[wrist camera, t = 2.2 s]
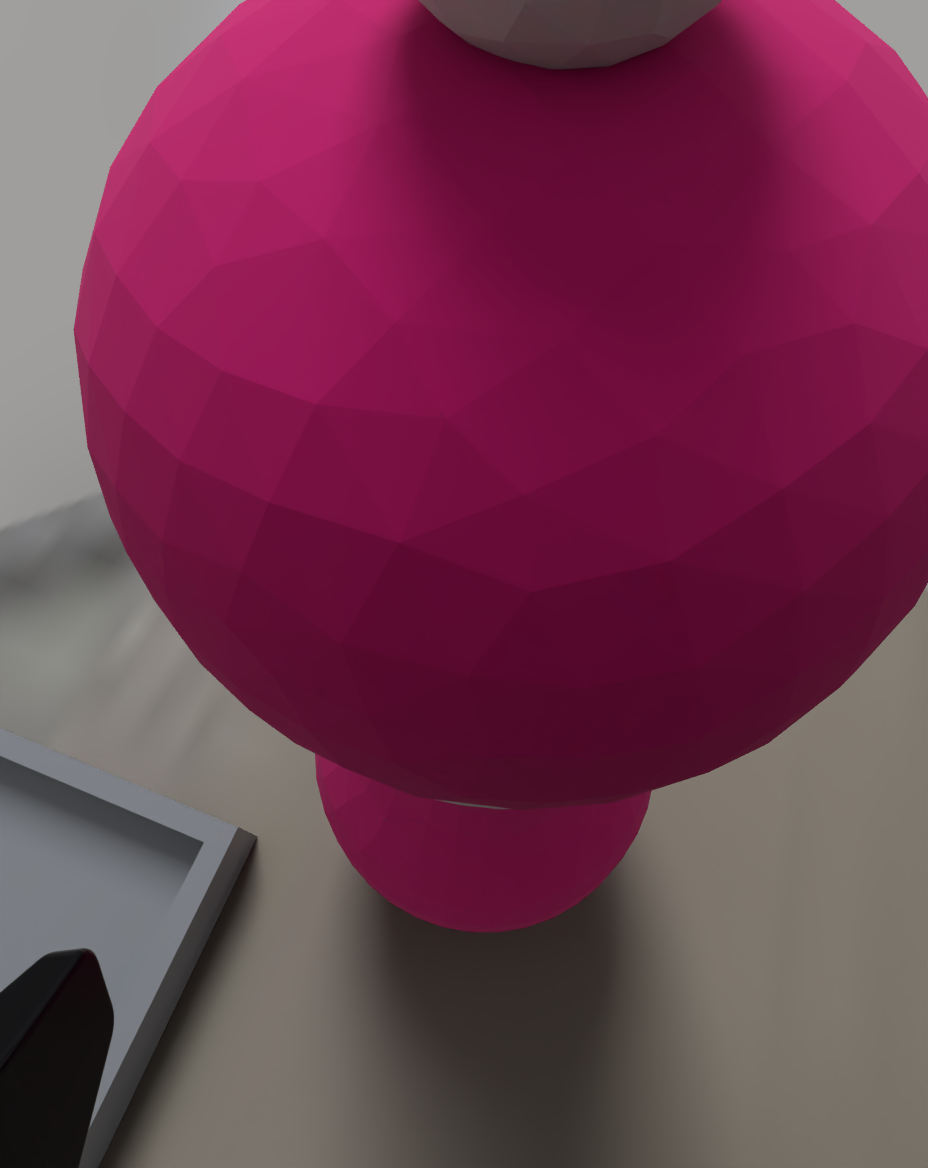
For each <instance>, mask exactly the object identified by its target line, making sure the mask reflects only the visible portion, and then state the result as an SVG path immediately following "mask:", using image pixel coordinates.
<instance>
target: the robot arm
mask: <svg viewBox="0 0 928 1168" xmlns="http://www.w3.org/2000/svg"><path fill="white" fill-rule="evenodd" d="M113 1028H114V1010H113V1005H112V1002H111V999H110V996H109V993H108V989H107V986H106V983H105V980H104V977H103V974H102V971H101V968H100V965H99V961H98V959H97V957H96V954H95V953H94V952H93V951H92V950H90V949H86V948H80V949H72V950H63V951H55V952H51V953H48V954H46V955H44V956H43V957H41V958H40V959H39V960H37V961H36V962H35V963H34V964H33V965H31V966H30V967H29V968H28V969H27V970H26V971H24V972H23V973H22V974H21V975H20V976H19V977H17V978H16V979H15V980H14V981H13V982H12V983H10V984H9V985H8V986H7V987H6V988H5V989H3V990H2V991H1V992H0V1168H79V1166H80V1162H81V1158H82V1154H83V1150H84V1146H85V1142H86V1138H87V1135H88V1131H89V1127H90V1123H91V1119H92V1115H93V1111H94V1107H95V1103H96V1099H97V1095H98V1091H99V1087H100V1083H101V1079H102V1075H103V1071H104V1067H105V1063H106V1059H107V1055H108V1051H109V1047H110V1043H111V1039H112V1035H113Z"/></svg>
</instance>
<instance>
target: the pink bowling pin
mask: <svg viewBox="0 0 928 1168" xmlns="http://www.w3.org/2000/svg"><path fill="white" fill-rule="evenodd" d="M74 336H75V344H76V353H77V361H78V370H79V378H80V386H81V394H82V403H83V412H84V421H85V428H86V437H87V446H88V450H89V453H90V456H91V459H92V462H93V465H94V468H95V471H96V474H97V477H98V480H99V484H100V487H101V490H102V493H103V496H104V499H105V502H106V505H107V508H108V511H109V514H110V517H111V519H112V522H113V524H114V526H115V528H116V530H117V532H118V535H119V537H120V539H121V541H122V543H123V546H124V548H125V550H126V552H127V554H128V556H129V557H130V559H131V561H132V563H133V564H134V566H135V568H136V569H137V571H138V573H139V575H140V576H141V578H142V580H143V581H144V583H145V585H146V587H147V588H148V590H149V592H150V593H151V595H152V597H153V599H154V600H155V602H156V603H157V604H158V606H159V607H160V609H161V610H162V611H163V613H164V614H165V616H166V617H167V618H168V620H169V621H170V622H171V624H172V625H173V627H174V628H175V629H176V631H177V632H178V634H179V635H180V636H181V638H182V639H183V640H184V642H185V643H186V644H187V646H188V647H189V649H190V650H191V651H192V653H193V654H194V655H195V657H196V658H197V659H198V661H199V662H200V663H201V664H202V665H203V666H204V667H205V668H206V669H207V670H208V671H209V672H210V673H211V674H212V675H213V676H214V677H215V678H216V679H217V680H218V681H219V682H220V683H221V684H223V685H224V686H225V687H226V688H227V689H228V690H229V691H230V692H231V693H232V694H233V695H234V696H235V697H236V698H237V699H238V700H239V701H240V702H241V703H242V704H243V705H245V706H246V707H247V708H248V709H249V710H250V711H251V712H253V713H254V714H256V715H257V716H258V717H260V718H261V719H262V720H264V721H265V722H267V723H268V724H269V725H271V726H272V727H274V728H275V729H276V730H278V731H279V732H280V733H282V734H283V735H285V736H286V737H287V738H289V739H290V740H291V741H293V742H294V743H296V744H298V745H300V746H302V747H304V748H306V749H308V750H310V751H312V752H314V753H315V759H316V778H317V783H318V787H319V791H320V795H321V799H322V803H323V807H324V811H325V814H326V816H327V819H328V821H329V823H330V825H331V827H332V830H333V832H334V834H335V836H336V839H337V841H338V843H339V844H340V846H341V847H342V849H343V851H344V852H345V854H346V856H347V857H348V859H349V861H350V862H351V864H352V865H353V866H354V868H355V869H356V870H357V871H358V872H359V873H360V874H361V876H362V877H363V878H364V879H365V880H366V881H367V883H368V884H369V885H370V886H371V887H372V888H374V889H375V890H376V891H377V892H378V893H380V894H381V895H382V896H383V897H385V898H386V899H387V900H388V901H389V902H391V903H392V904H394V905H395V906H397V907H399V908H401V909H402V910H404V911H406V912H408V913H409V914H411V915H413V916H415V917H416V918H419V919H422V920H425V921H427V922H430V923H433V924H436V925H438V926H441V927H445V928H450V929H456V930H462V931H468V932H503V931H509V930H515V929H521V928H526V927H529V926H532V925H535V924H538V923H541V922H543V921H546V920H549V919H552V918H554V917H555V916H557V915H559V914H561V913H563V912H564V911H566V910H568V909H570V908H571V907H573V906H575V905H577V904H578V903H579V902H580V901H582V900H583V899H584V898H585V897H586V896H588V895H589V894H590V893H591V892H592V891H594V890H595V889H596V888H597V887H598V886H599V885H600V884H601V883H602V882H603V881H604V880H605V878H606V877H607V876H608V875H609V874H610V872H611V871H612V870H613V869H614V868H615V867H616V865H617V864H618V863H619V862H620V861H621V859H622V858H623V856H624V855H625V853H626V852H627V850H628V848H629V847H630V845H631V843H632V842H633V840H634V839H635V837H636V835H637V834H638V831H639V829H640V826H641V824H642V821H643V819H644V816H645V814H646V811H647V809H648V804H649V799H650V794H651V790H654V789H658V788H661V787H664V786H667V785H670V784H673V783H676V782H680V781H683V780H686V779H689V778H692V777H695V776H698V775H702V774H705V773H708V772H710V771H712V770H714V769H716V768H718V767H720V766H722V765H725V764H727V763H729V762H731V761H733V760H735V759H737V758H739V757H741V756H743V755H745V754H747V753H749V752H751V751H753V750H755V749H758V748H760V747H762V746H764V745H766V744H768V743H769V742H770V741H772V740H773V739H774V738H776V737H777V736H778V735H779V734H781V733H782V732H783V731H785V730H786V729H787V728H788V727H790V726H791V725H792V724H794V723H795V722H796V721H797V720H799V719H800V718H801V717H802V716H804V715H805V714H806V713H808V712H809V711H810V710H811V709H813V708H814V707H815V706H817V705H818V704H819V703H820V702H822V701H823V700H824V699H826V698H827V697H828V696H829V695H831V694H832V693H833V692H835V691H836V690H837V689H838V688H840V687H841V686H842V685H843V684H844V683H845V682H846V681H847V680H848V679H849V678H850V676H851V675H852V674H853V673H854V672H855V671H856V670H857V669H858V668H859V667H860V666H861V665H862V664H863V663H864V661H865V660H866V659H867V658H868V657H869V656H870V655H871V654H872V653H873V652H874V650H875V649H876V648H877V647H878V646H879V645H880V644H881V643H882V642H883V640H884V639H885V638H886V637H887V636H888V635H889V634H890V633H891V632H892V631H893V629H894V628H895V627H896V626H897V625H898V624H899V623H900V622H901V621H902V619H903V618H904V617H905V616H906V615H907V614H908V613H909V612H910V611H911V610H912V608H913V607H914V606H915V605H916V603H917V601H918V599H919V598H920V596H921V594H922V592H923V590H924V589H925V587H926V585H927V583H928V98H927V96H926V95H925V93H924V91H923V90H922V88H921V87H920V85H919V84H918V83H917V81H916V80H915V78H914V77H913V76H912V74H911V73H910V71H909V70H908V68H907V67H906V66H905V64H904V63H903V61H902V60H901V58H900V57H899V56H898V54H897V53H896V52H895V51H894V50H893V49H892V48H891V47H890V46H889V45H887V44H886V43H885V42H884V41H883V40H881V39H880V38H879V37H878V36H877V35H876V34H874V33H873V32H872V31H871V30H870V29H868V28H867V27H866V26H865V25H864V24H862V23H861V22H860V21H859V20H858V19H856V18H855V17H854V16H853V15H852V14H850V13H849V12H848V11H847V10H845V9H844V8H843V7H842V6H841V5H840V4H839V3H837V2H836V1H835V0H246V1H244V2H243V3H241V4H239V5H238V6H237V7H236V8H235V9H234V10H233V11H232V12H231V14H229V15H228V16H227V17H226V18H225V19H224V20H223V21H222V22H221V23H220V25H219V26H217V27H216V29H215V30H213V31H212V32H211V33H210V34H209V35H208V36H207V37H206V38H205V39H204V41H202V42H201V43H200V45H198V46H197V47H196V48H195V49H194V50H193V51H192V53H190V55H188V56H187V57H186V58H185V59H184V60H183V62H181V63H180V64H179V66H178V67H176V68H175V70H174V71H172V72H171V73H170V74H169V76H167V78H166V79H164V80H163V81H162V83H160V84H159V85H158V86H157V88H156V90H155V91H154V93H153V95H152V96H151V98H150V100H149V102H148V103H147V105H146V107H145V109H144V110H143V112H142V114H141V116H140V117H139V119H138V121H137V122H136V124H135V126H134V127H133V129H132V131H131V133H130V134H129V136H128V138H127V139H126V141H125V143H124V145H123V146H122V148H121V150H120V151H119V153H118V155H117V157H116V158H115V160H114V162H113V163H112V165H111V167H110V170H109V174H108V178H107V182H106V185H105V189H104V193H103V196H102V200H101V204H100V208H99V211H98V215H97V219H96V222H95V226H94V230H93V234H92V238H91V241H90V245H89V248H88V252H87V256H86V260H85V263H84V267H83V272H82V278H81V285H80V292H79V299H78V305H77V311H76V318H75V325H74Z"/></svg>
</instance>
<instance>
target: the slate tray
mask: <svg viewBox="0 0 928 1168" xmlns="http://www.w3.org/2000/svg"><path fill="white" fill-rule="evenodd" d="M256 838H257V836H255V835H253V834H251V833H249V832H247V831H245V830H243V829H241V828H239V827H236V826H234V825H232V824H229V823H227V822H224V821H222V820H220V819H217V818H215V817H212V816H210V815H208V814H205V813H203V812H200V811H198V810H196V809H193V808H191V807H188V806H186V805H184V804H181V803H179V802H176V801H174V800H172V799H169V798H167V797H164V796H162V795H160V794H157V793H155V792H152V791H150V790H148V789H145V788H143V787H141V786H138V785H136V784H133V783H131V782H129V781H126V780H124V779H121V778H119V777H117V776H114V775H112V774H109V773H107V772H105V771H102V770H100V769H97V768H95V767H93V766H90V765H88V764H85V763H83V762H81V761H78V760H76V759H73V758H71V757H69V756H66V755H64V754H61V753H59V752H57V751H54V750H52V749H49V748H47V747H45V746H42V745H40V744H37V743H35V742H33V741H30V740H28V739H25V738H23V737H21V736H18V735H16V734H13V733H11V732H9V731H6V730H4V729H1V728H0V992H1V991H2V990H3V989H5V988H6V987H7V986H8V985H9V984H10V983H12V982H13V981H14V980H15V979H16V978H17V977H19V976H20V975H21V974H22V973H23V972H24V971H26V970H27V969H28V968H29V967H30V966H31V965H33V964H34V963H35V962H36V961H37V960H39V959H40V958H41V957H43V956H44V955H46V954H48V953H51V952H55V951H63V950H72V949H80V948H86V949H90V950H92V951H93V952H94V953H95V954H96V957H97V959H98V961H99V965H100V968H101V971H102V974H103V977H104V980H105V983H106V986H107V989H108V993H109V996H110V999H111V1002H112V1005H113V1010H114V1028H113V1035H112V1039H111V1043H110V1047H109V1051H108V1055H107V1059H106V1063H105V1067H104V1071H103V1075H102V1079H101V1083H100V1087H99V1091H98V1095H97V1099H96V1103H95V1107H94V1111H93V1115H92V1119H91V1123H90V1127H89V1131H88V1135H87V1138H86V1142H85V1146H84V1150H83V1154H82V1158H81V1162H80V1166H79V1168H98V1167H99V1165H100V1163H101V1161H102V1159H103V1157H104V1155H105V1153H106V1151H107V1149H108V1147H109V1145H110V1142H111V1140H112V1138H113V1136H114V1134H115V1132H116V1130H117V1128H118V1126H119V1124H120V1122H121V1120H122V1117H123V1115H124V1113H125V1111H126V1109H127V1107H128V1105H129V1103H130V1101H131V1099H132V1097H133V1095H134V1092H135V1090H136V1088H137V1086H138V1084H139V1082H140V1080H141V1078H142V1076H143V1074H144V1072H145V1069H146V1067H147V1065H148V1063H149V1061H150V1059H151V1057H152V1055H153V1053H154V1051H155V1049H156V1047H157V1044H158V1042H159V1040H160V1038H161V1036H162V1034H163V1032H164V1030H165V1028H166V1026H167V1024H168V1022H169V1019H170V1017H171V1015H172V1013H173V1011H174V1009H175V1007H176V1005H177V1003H178V1001H179V999H180V997H181V994H182V992H183V990H184V988H185V986H186V984H187V982H188V980H189V978H190V976H191V974H192V972H193V969H194V967H195V965H196V963H197V961H198V959H199V957H200V955H201V953H202V951H203V949H204V946H205V944H206V942H207V940H208V938H209V936H210V934H211V932H212V930H213V928H214V926H215V924H216V921H217V919H218V917H219V915H220V913H221V911H222V909H223V907H224V905H225V903H226V901H227V899H228V896H229V894H230V892H231V890H232V888H233V886H234V884H235V882H236V880H237V878H238V876H239V874H240V871H241V869H242V867H243V865H244V863H245V861H246V859H247V857H248V855H249V853H250V851H251V848H252V846H253V844H254V842H255V840H256Z"/></svg>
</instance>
